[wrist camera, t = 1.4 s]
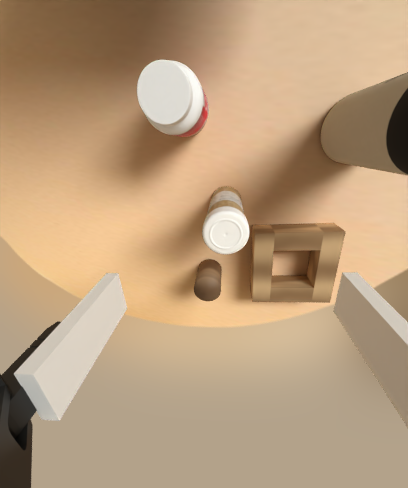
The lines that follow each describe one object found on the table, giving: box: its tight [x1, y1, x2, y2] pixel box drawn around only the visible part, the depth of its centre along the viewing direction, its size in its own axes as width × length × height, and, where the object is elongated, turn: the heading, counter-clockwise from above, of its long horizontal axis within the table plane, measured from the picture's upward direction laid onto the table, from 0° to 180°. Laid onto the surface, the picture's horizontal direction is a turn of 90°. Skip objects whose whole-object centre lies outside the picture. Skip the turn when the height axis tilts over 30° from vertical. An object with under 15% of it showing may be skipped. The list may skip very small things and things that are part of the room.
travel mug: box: [321, 72, 408, 175], centre depth 20 cm, size 8×8×18 cm
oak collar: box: [250, 223, 345, 302], centre depth 34 cm, size 12×12×4 cm
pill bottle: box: [137, 60, 209, 137], centre depth 24 cm, size 6×6×11 cm
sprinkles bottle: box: [202, 186, 249, 254], centre depth 27 cm, size 5×5×13 cm
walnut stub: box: [194, 259, 222, 301], centre depth 36 cm, size 4×4×6 cm
